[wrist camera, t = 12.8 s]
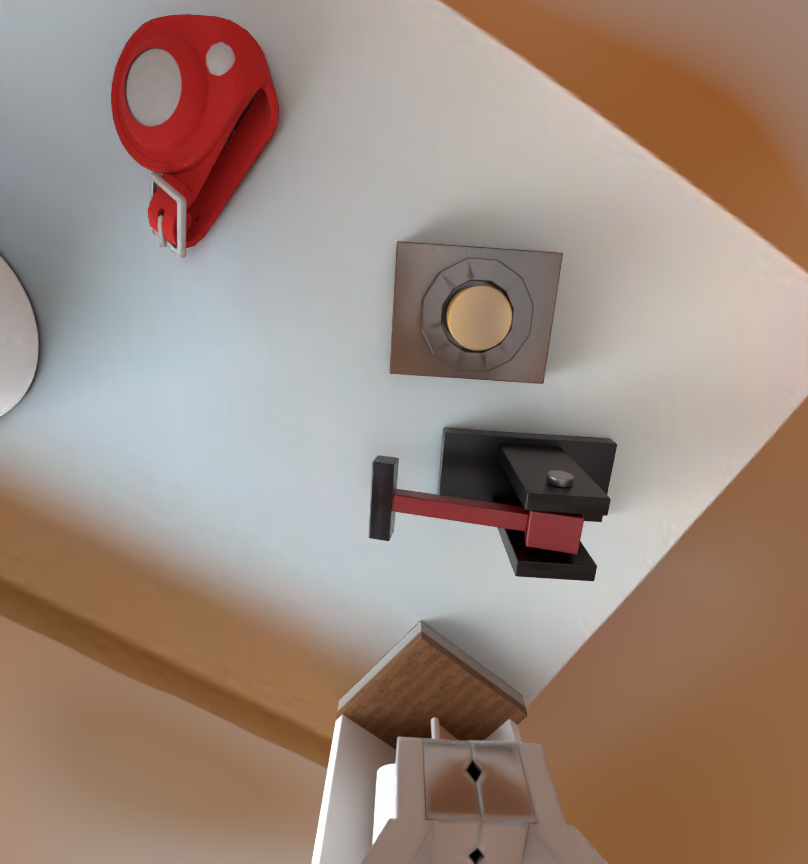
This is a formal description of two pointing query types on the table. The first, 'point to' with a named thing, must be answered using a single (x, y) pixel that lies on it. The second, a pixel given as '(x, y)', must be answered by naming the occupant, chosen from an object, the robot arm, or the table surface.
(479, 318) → the bell button
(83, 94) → the table surface
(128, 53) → the tracker holder
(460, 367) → the block
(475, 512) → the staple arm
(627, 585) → the table surface
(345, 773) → the display case
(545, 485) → the black lever base
